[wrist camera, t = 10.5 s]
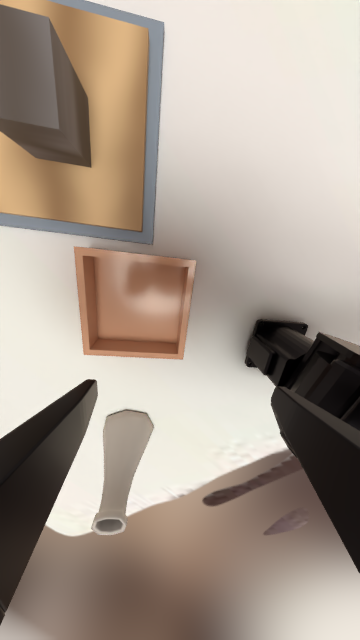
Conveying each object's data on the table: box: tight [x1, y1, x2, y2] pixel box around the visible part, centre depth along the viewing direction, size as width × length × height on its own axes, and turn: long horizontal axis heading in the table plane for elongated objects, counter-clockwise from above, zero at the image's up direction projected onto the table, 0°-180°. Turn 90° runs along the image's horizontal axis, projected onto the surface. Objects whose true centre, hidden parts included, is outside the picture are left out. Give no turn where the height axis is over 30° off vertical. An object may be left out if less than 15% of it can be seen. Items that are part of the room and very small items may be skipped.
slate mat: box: [0, 0, 164, 244], centre depth 14 cm, size 14×14×1 cm
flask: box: [91, 410, 154, 535], centre depth 21 cm, size 7×7×10 cm
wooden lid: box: [0, 0, 149, 232], centre depth 11 cm, size 12×12×5 cm
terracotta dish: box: [74, 247, 196, 359], centre depth 18 cm, size 10×10×3 cm
